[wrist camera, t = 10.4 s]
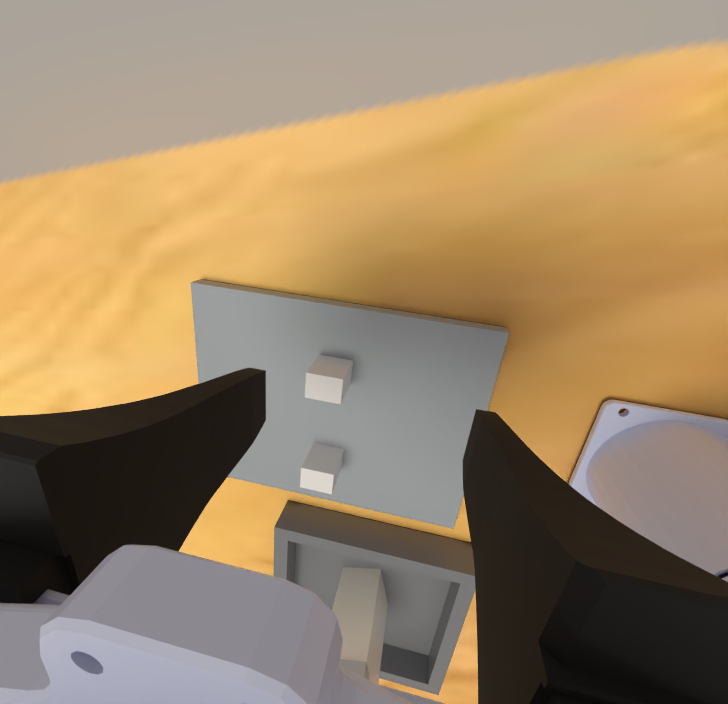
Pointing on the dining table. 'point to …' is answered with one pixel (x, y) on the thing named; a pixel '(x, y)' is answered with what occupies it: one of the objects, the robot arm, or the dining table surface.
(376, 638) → the block
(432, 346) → the panel
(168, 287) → the dining table surface
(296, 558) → the parts tray
